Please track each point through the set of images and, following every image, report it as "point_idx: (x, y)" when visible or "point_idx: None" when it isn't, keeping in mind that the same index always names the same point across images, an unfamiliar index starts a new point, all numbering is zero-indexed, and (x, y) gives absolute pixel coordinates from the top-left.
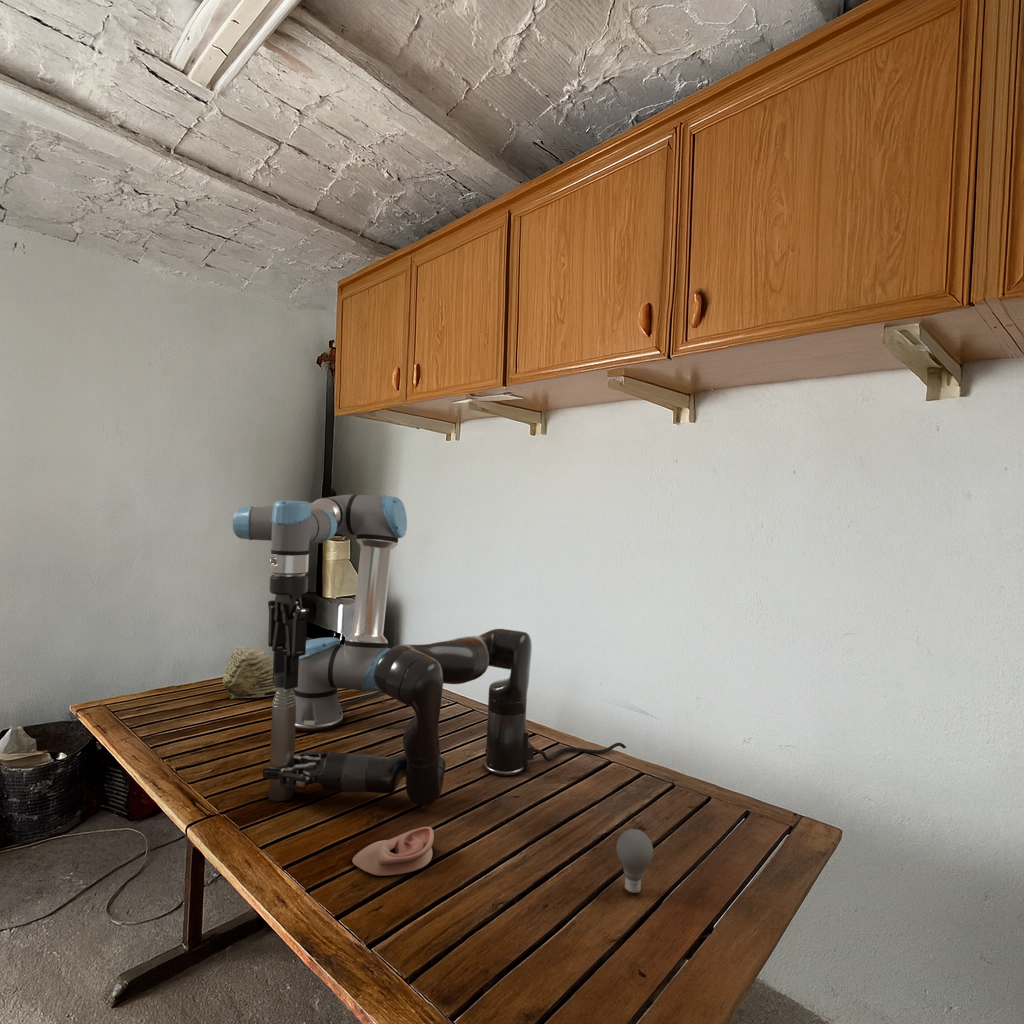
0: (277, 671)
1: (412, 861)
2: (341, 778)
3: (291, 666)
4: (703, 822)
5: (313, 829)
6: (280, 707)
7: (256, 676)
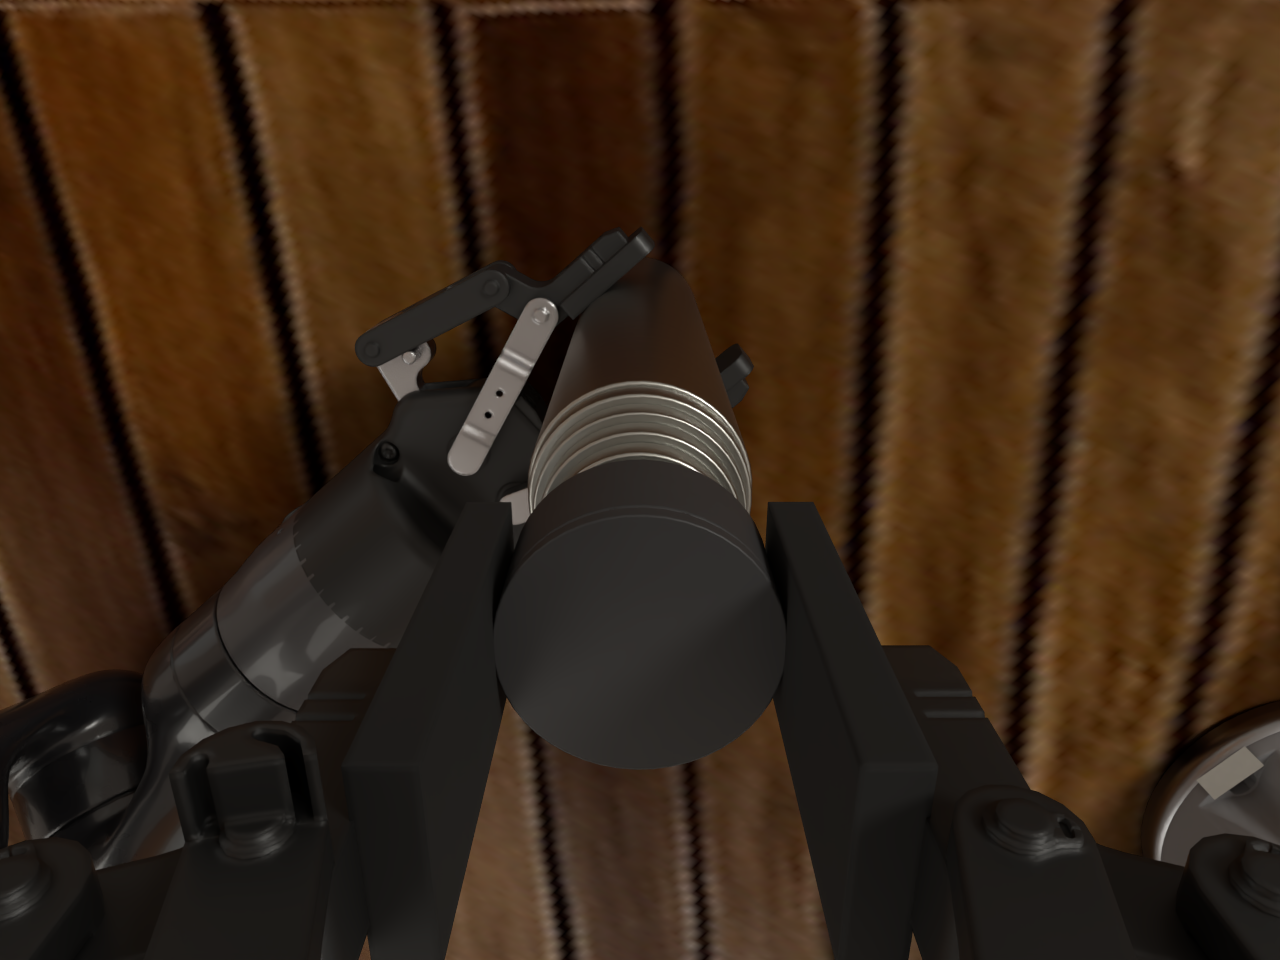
0: (790, 613)
1: None
2: (299, 510)
3: (326, 720)
4: None
5: (246, 277)
6: (558, 413)
7: None
